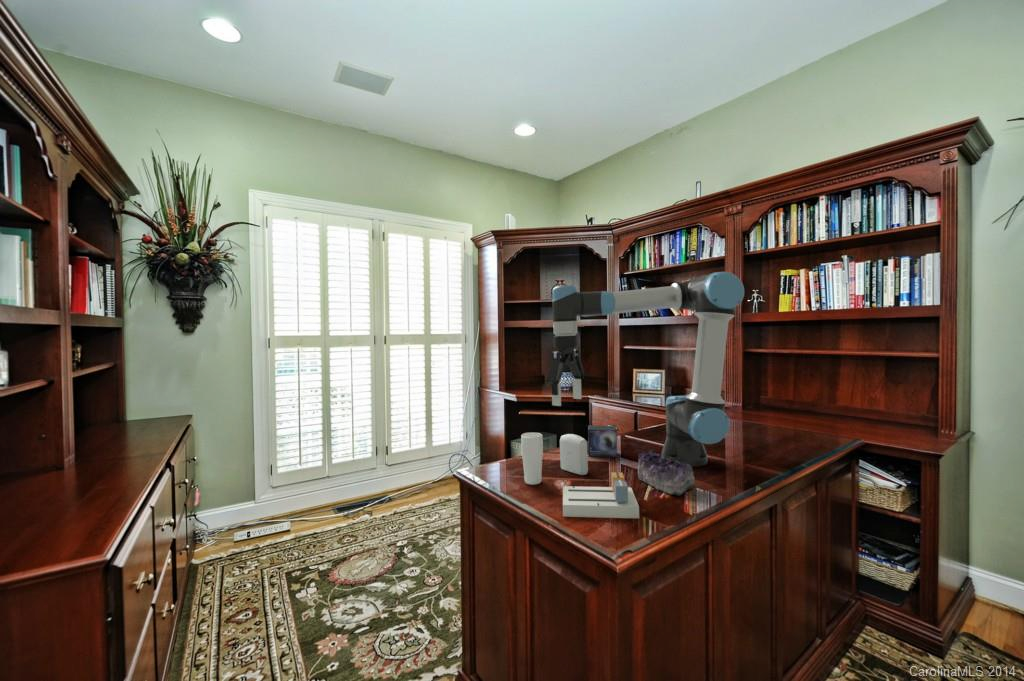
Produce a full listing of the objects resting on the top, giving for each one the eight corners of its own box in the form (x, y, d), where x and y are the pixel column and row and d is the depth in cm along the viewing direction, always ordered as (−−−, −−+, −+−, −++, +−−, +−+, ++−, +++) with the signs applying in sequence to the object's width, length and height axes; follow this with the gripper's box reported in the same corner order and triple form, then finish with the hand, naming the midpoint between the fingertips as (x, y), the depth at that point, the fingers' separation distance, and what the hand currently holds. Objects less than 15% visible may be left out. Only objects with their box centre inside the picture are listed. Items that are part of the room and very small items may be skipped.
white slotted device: (558, 469, 147) (557, 433, 147) (567, 466, 150) (566, 431, 149) (581, 476, 139) (580, 438, 139) (590, 473, 142) (589, 436, 141)
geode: (623, 478, 137) (624, 447, 137) (650, 477, 142) (652, 446, 142) (672, 498, 118) (674, 461, 119) (702, 495, 123) (703, 460, 124)
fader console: (631, 497, 121) (631, 486, 120) (639, 518, 108) (639, 505, 108) (563, 496, 123) (562, 485, 123) (563, 516, 110) (562, 504, 110)
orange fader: (622, 486, 120) (622, 471, 119) (624, 492, 116) (624, 476, 115) (611, 486, 120) (611, 471, 120) (613, 492, 116) (612, 476, 116)
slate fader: (625, 495, 113) (625, 480, 113) (628, 502, 109) (627, 485, 109) (614, 495, 113) (613, 479, 113) (615, 501, 109) (615, 485, 109)
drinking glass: (529, 487, 130) (527, 438, 130) (518, 481, 136) (517, 434, 136) (547, 483, 134) (546, 435, 133) (536, 477, 140) (535, 431, 139)
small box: (588, 457, 159) (587, 429, 159) (588, 452, 166) (587, 425, 166) (617, 457, 158) (616, 429, 157) (616, 452, 164) (615, 425, 164)
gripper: (573, 334, 148) (575, 395, 149) (533, 336, 128) (536, 407, 128) (593, 333, 144) (595, 396, 144) (555, 336, 123) (558, 409, 124)
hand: (567, 402), depth 136 cm, fingers open, 13 cm apart
